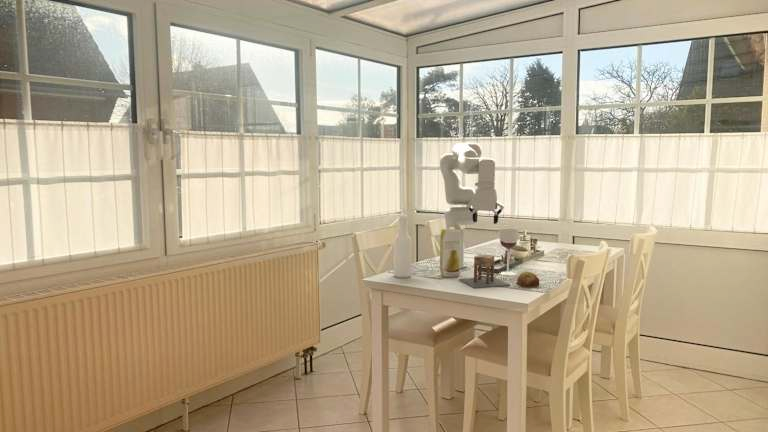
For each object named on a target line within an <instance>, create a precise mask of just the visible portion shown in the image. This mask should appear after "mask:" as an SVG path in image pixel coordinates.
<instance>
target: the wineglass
mask: <svg viewBox="0 0 768 432" xmlns="http://www.w3.org/2000/svg"><path fill="white" fill-rule="evenodd" d="M519 232H520V231H519V229H513V228H500V229H499V230H498V234H499V235H498V236H499V242H500V245H501V246H502V247H504V248H505V249H506V250H507V255H506V256H507V257H506V260H507V261H506V271H500V272H501V273H500V272H499V274H500V275H503V276H514V275H517V273H516V272H513V271H509V269H510V268H509V267H510V265H509V263H510V249H513V248H514V247H516V246H517V243H518V240H519V234H520V233H519Z"/></svg>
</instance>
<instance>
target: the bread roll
mask: <svg viewBox="0 0 768 432" xmlns="http://www.w3.org/2000/svg"><path fill="white" fill-rule="evenodd" d="M516 285H517V286H519V287H522V288H537V287H539V286H540V278H539V277H538V276H537V275H536V273H533V272H530V271H524V272H521V273H520V274H519V275H518V276H517V279H516Z"/></svg>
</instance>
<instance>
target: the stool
mask: <svg viewBox="0 0 768 432" xmlns="http://www.w3.org/2000/svg"><path fill="white" fill-rule="evenodd" d="M482 267H486V270H485V271H486V272H482V271H483V269H482ZM494 272H495V255H492V254H491V255H489V254H481V253H480V254H478V255H475V256H473V278H474V282H477V278H478V280H481V277H482V278H486V284H490V281H494V275H495V273H494Z"/></svg>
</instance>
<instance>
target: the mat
mask: <svg viewBox="0 0 768 432" xmlns="http://www.w3.org/2000/svg"><path fill="white" fill-rule="evenodd" d="M458 281H459V282H461V283H462V284H463V283H464V284H465V285H467V286H469V287H471V288H473V289H484V288H499V287H510V286H511V284H510V283H508V282H505V281H504V280H501V279H499V278H497V277H494V281H490V284H486V278H482V277H481V280H478V277H477V282H474V277H468V278H467V277H466V278H458Z"/></svg>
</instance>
